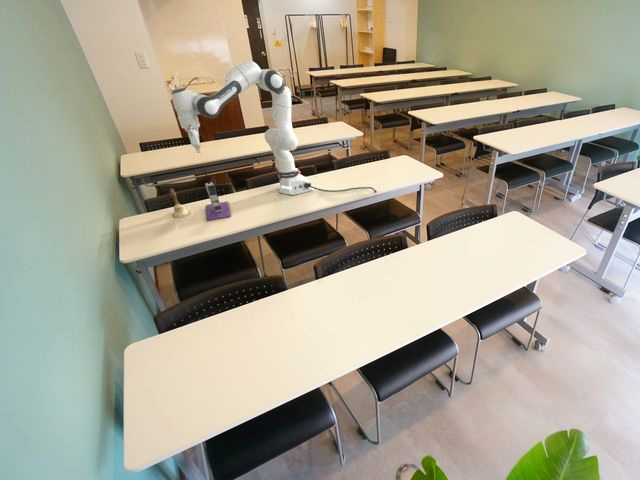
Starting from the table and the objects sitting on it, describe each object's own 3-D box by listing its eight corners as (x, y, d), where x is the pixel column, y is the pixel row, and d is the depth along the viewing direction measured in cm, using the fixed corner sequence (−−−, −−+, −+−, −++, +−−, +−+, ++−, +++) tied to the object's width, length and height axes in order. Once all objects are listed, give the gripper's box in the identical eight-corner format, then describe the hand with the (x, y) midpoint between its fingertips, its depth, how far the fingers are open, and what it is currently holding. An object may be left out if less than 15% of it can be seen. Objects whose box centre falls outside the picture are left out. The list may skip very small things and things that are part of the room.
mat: (227, 202, 216) (227, 201, 216) (230, 216, 200) (230, 215, 200) (206, 206, 212) (206, 204, 211) (208, 220, 196) (207, 219, 195)
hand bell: (169, 216, 200) (159, 190, 191) (181, 210, 206) (171, 185, 197) (180, 218, 198) (170, 192, 189) (192, 212, 204) (182, 187, 195)
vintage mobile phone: (215, 212, 203) (202, 171, 188) (213, 209, 206) (200, 169, 191) (222, 211, 205) (209, 170, 190) (220, 208, 208) (207, 168, 193)
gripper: (196, 127, 171) (205, 154, 179) (196, 119, 186) (204, 144, 194) (182, 128, 169) (192, 156, 177) (183, 120, 183) (192, 146, 191)
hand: (198, 150), depth 185 cm, fingers open, 8 cm apart
